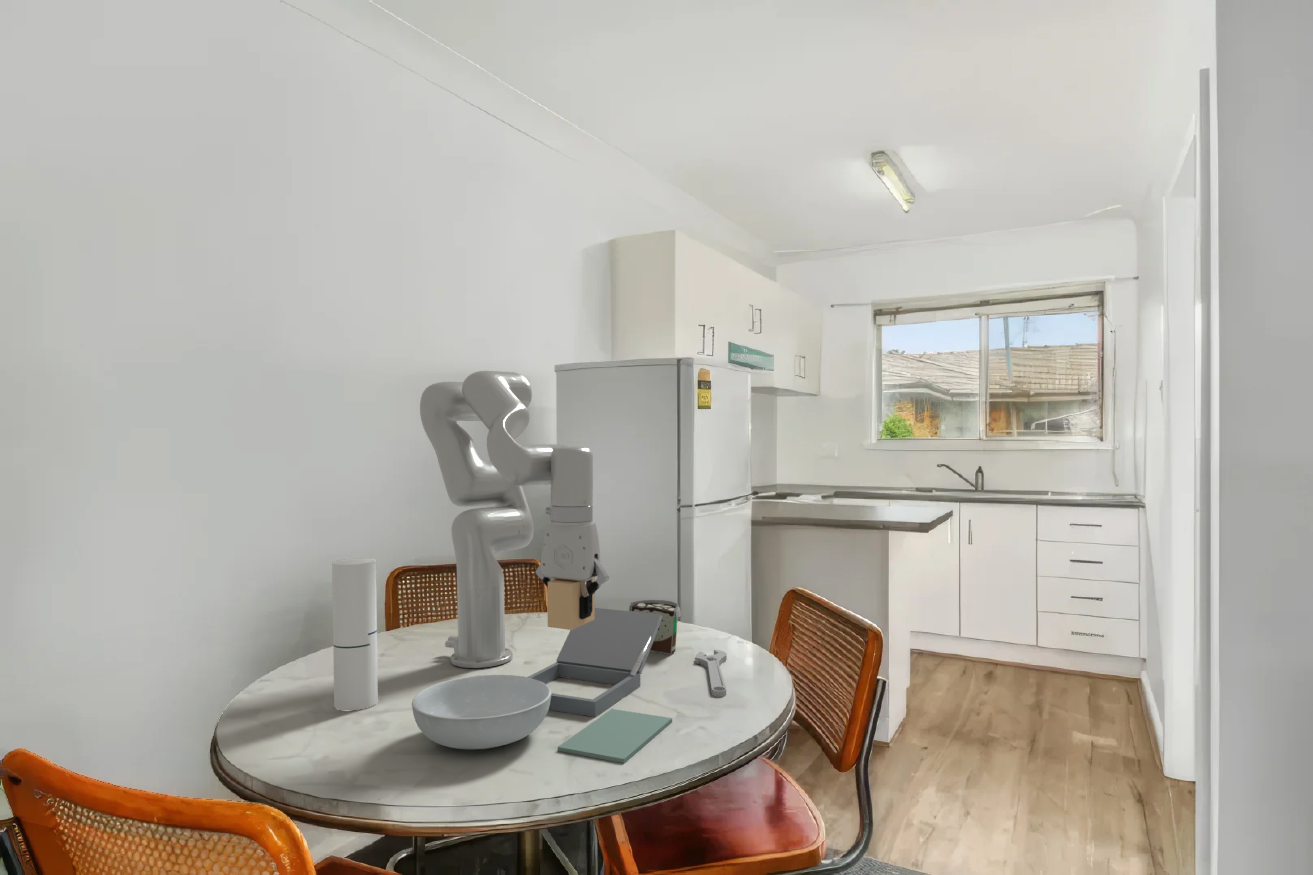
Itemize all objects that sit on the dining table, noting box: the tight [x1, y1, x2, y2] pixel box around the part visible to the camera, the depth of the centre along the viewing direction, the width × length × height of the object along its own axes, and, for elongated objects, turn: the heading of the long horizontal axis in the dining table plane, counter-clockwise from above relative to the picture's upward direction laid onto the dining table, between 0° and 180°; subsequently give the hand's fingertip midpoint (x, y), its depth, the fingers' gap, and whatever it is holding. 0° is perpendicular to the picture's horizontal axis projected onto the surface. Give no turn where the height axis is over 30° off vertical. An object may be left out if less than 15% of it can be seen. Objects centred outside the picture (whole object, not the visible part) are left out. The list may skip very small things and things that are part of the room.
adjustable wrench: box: [694, 649, 728, 698], centre depth 148 cm, size 25×6×2 cm, turn 175°
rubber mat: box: [557, 708, 673, 764], centre depth 118 cm, size 11×17×1 cm, turn 155°
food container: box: [628, 599, 682, 656], centre depth 166 cm, size 12×6×10 cm, turn 58°
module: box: [547, 577, 596, 631], centre depth 138 cm, size 5×8×8 cm, turn 155°
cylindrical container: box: [331, 557, 379, 711], centre depth 134 cm, size 7×7×25 cm
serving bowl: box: [411, 674, 552, 750], centre depth 118 cm, size 21×21×7 cm
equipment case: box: [527, 607, 662, 718], centre depth 142 cm, size 18×27×11 cm, turn 155°
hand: (571, 614), depth 138 cm, fingers closed on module, 5 cm apart
